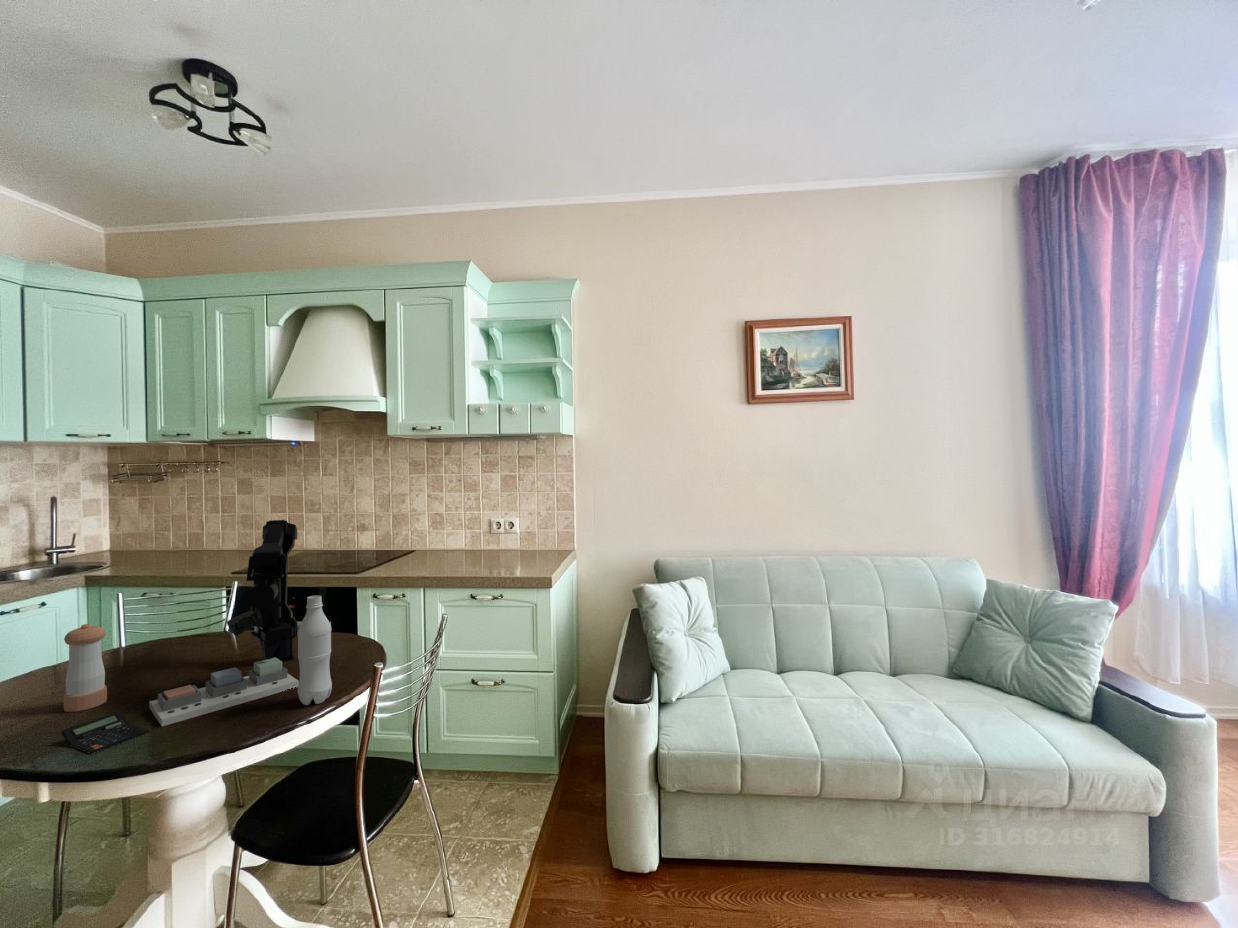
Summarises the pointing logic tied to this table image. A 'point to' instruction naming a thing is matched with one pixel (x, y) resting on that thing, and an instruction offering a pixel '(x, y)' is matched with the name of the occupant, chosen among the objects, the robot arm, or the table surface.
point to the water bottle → (314, 654)
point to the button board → (220, 696)
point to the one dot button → (267, 666)
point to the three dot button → (179, 692)
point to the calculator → (102, 733)
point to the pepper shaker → (85, 669)
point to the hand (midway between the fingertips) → (268, 659)
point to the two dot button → (225, 677)
